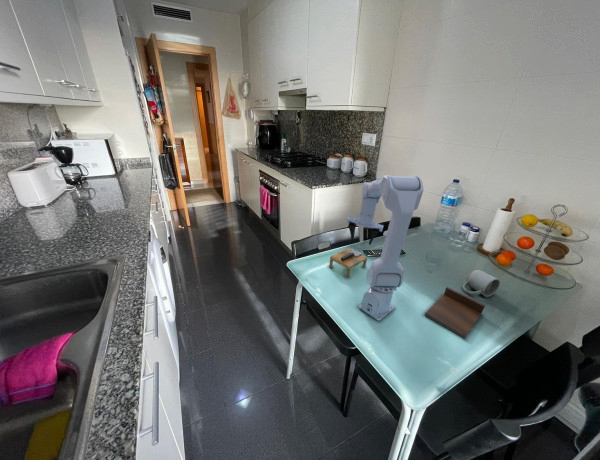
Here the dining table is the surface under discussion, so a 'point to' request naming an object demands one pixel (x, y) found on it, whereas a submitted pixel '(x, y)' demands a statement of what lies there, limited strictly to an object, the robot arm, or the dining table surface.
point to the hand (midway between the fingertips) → (361, 240)
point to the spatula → (352, 253)
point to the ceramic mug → (481, 283)
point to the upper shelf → (348, 260)
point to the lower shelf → (456, 312)
